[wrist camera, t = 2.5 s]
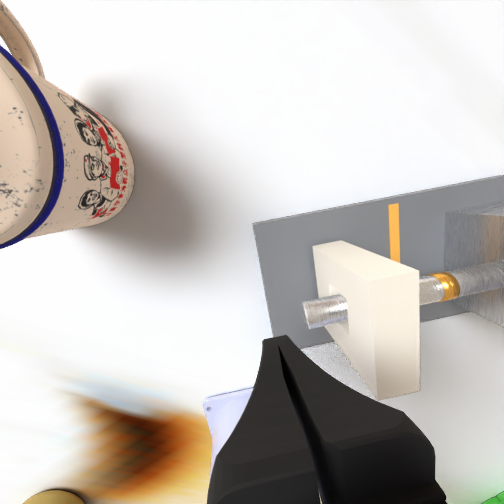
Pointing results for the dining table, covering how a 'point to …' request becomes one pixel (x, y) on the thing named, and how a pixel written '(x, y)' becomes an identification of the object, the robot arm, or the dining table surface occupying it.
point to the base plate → (366, 237)
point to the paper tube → (54, 498)
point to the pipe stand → (449, 270)
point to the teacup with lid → (52, 150)
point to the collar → (374, 315)
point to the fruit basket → (496, 499)
